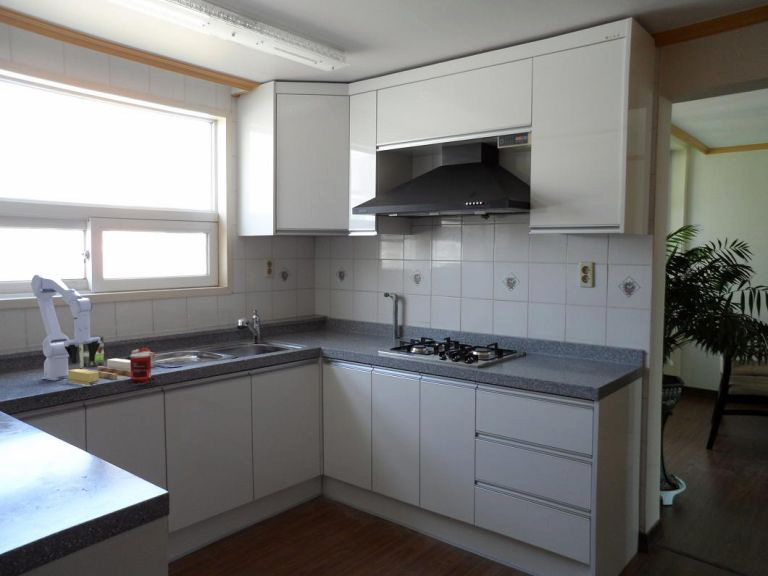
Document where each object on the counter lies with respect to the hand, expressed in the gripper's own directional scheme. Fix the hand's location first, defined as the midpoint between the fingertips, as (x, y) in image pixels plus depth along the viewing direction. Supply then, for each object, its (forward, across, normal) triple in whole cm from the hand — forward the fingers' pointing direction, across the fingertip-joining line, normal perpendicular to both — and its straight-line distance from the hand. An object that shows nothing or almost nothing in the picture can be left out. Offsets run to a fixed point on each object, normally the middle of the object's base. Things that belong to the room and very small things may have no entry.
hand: (83, 362), depth 241 cm
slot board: (+8, +14, 0) cm, 16 cm away
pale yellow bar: (+9, 0, 0) cm, 9 cm away
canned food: (+9, +14, -17) cm, 24 cm away
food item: (+9, +32, +5) cm, 34 cm away
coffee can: (+9, +23, +29) cm, 38 cm away
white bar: (+7, +18, 0) cm, 19 cm away
